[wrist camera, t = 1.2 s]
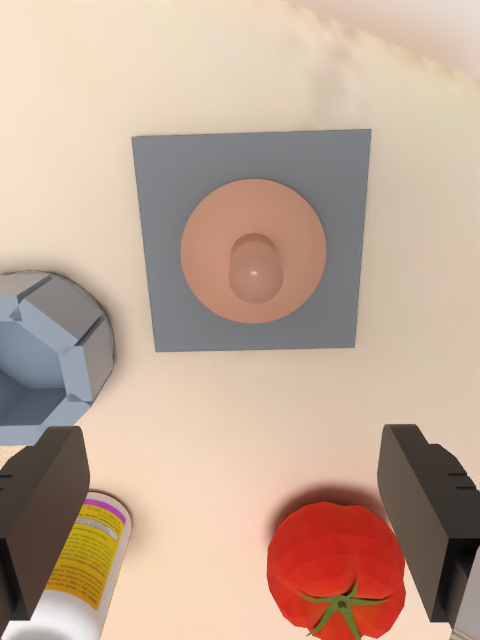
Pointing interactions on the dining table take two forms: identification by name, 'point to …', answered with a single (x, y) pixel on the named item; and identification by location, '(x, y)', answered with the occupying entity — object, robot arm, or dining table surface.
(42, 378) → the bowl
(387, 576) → the tomato
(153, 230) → the mat
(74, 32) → the dining table surface
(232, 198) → the lid
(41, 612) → the supplement bottle
